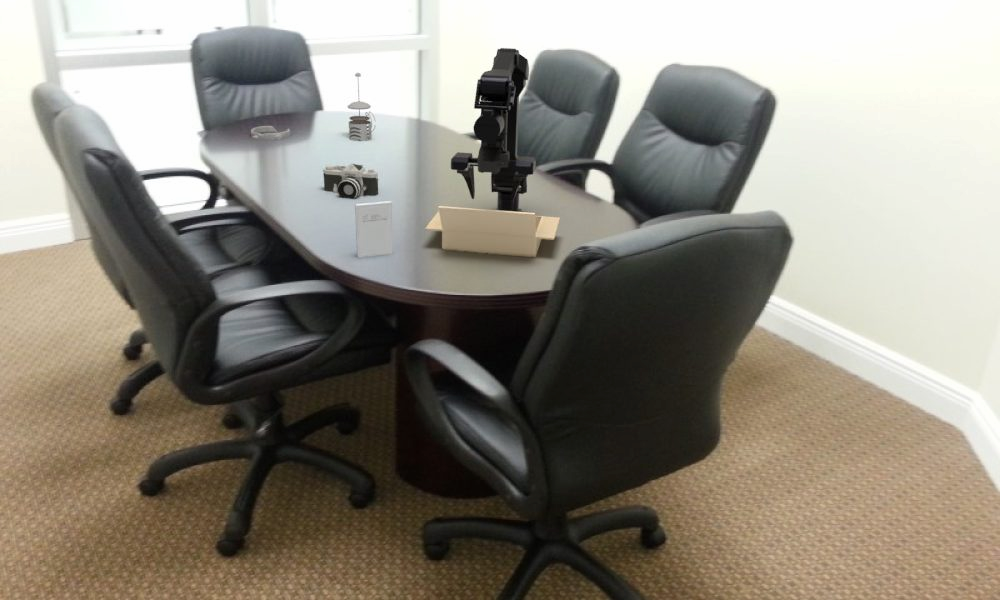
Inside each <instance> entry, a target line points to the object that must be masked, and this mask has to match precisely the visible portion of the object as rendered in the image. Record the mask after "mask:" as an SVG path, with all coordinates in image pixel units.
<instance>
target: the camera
mask: <svg viewBox="0 0 1000 600" xmlns="http://www.w3.org/2000/svg"><path fill="white" fill-rule="evenodd" d="M322 172H323V186H324V187H323V189H324V191H326V192H332V193H336V194H337V193H338V195H339V197H340V198H341V199H349V200H354V199H356V198H358V197H363V196H369V197H377V196H378V195H379V178H378V177H379V176H378V172H377V171H376V170H375V169H374V168H368V170H366V169H365V166H364V165H362V164H355V163H351V164H349V165H348V166H344V165H332V164H329V165H325V168H324V169H322Z"/></svg>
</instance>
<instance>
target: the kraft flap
mask: <svg viewBox="0 0 1000 600" xmlns="http://www.w3.org/2000/svg"><path fill="white" fill-rule="evenodd" d="M438 211H439V213H440V219H441V224H442V229H443V230H451V231H464V232H477V233H490V234H503V235H517V236H530V237H536V228H535V216H536V213H535V212H528V211H527V212H525V211H521V212H514V211H501V210H496V209H486V208H484V209H483V208H473V207H472V208H471V207H470V208H469V207H457V206H455V207H454V206H447V205H446V206H444V205H439V206H438Z"/></svg>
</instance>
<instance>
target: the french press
mask: <svg viewBox="0 0 1000 600" xmlns="http://www.w3.org/2000/svg"><path fill="white" fill-rule="evenodd" d="M354 76H355V77H357V78H359V77H362V75H361V73H360V72H356V73H355V74H354ZM359 86H360V85H359V80H357V94H358V96H357V97H358V98H360V87H359ZM346 108H347V109H349V110H358V115H352V116H349V120H350V121H348V129H349V130H348V136H349V137H348V139H349V140H352V141H353V142H359V140H360V142H367V141H371V140H372V135H373V134H372V133H373V132H374V131H375V129H376V126H374V128H373V120H372V117H373V119H374V121H376V118H375V115H374V113H372V112H371V111H369V109H370V108H372V106H371V105H370V103H368V102H364V101H361V100H357V101H352V102H351V103H350V104H348V105H347V107H346ZM361 110H368V111H366V112H365V115H361V112H360V111H361ZM371 115H372V116H371ZM372 128H373V130H372ZM356 139H357V140H356Z"/></svg>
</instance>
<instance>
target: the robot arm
mask: <svg viewBox="0 0 1000 600" xmlns="http://www.w3.org/2000/svg"><path fill="white" fill-rule="evenodd" d="M529 75H530V65H529V60H528V58H526V57H525V56H523V55H521V54H520V51H519V49H517V48H509V47H508V48H507V47H501V48H497V51H496V55H495V56H494V57H493V63H492V68H491V70H486V71H483V73H482V74H481V76H480V79H477V83H476V90H475V98H474V104H473V106H474V107H473V108H474V110H475V109H477V110H480V115H479V116H478V118H477V119H476V120H475V122H474V125H473V133H474V135H475V136H476V138H477V139H478V140H479V141H480V147H479V150H478V154H477V157H473V153H472V152H456V153H455V154H454V155H453V157H452V158H451V160H450V169H451V170H452V171H456V174H460V175H461V176H462V177H463V179H464V181H465V183H466V186H467V188H468V191H469V194H470V198H471V199H472V200H474V199H475V196H476V195H475V193H476V190H475V189H476V187H475V169H474V167H477V172H479V173H482V174H483V173H491V174H490V183H491V184H490V185H491V193H497V200H496V201H497V203H496V205H497V206H496V207H497V208H495V210H501V211H514V212H522V209H521V208H519V207H520V195H524V194H526V193H527V192H528V176H530V175H534V173H535V171H536V167H537V166H536V164H537V162H536V158H535V157H534V156H522V155H521V156H520V155H519V154H518V137H519V136H518V134H519V133H518V132H519V114H520V113H519V109H520V95H521V94H522V92H523V91H524V89H525V87H526V86H527V81H529Z"/></svg>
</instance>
